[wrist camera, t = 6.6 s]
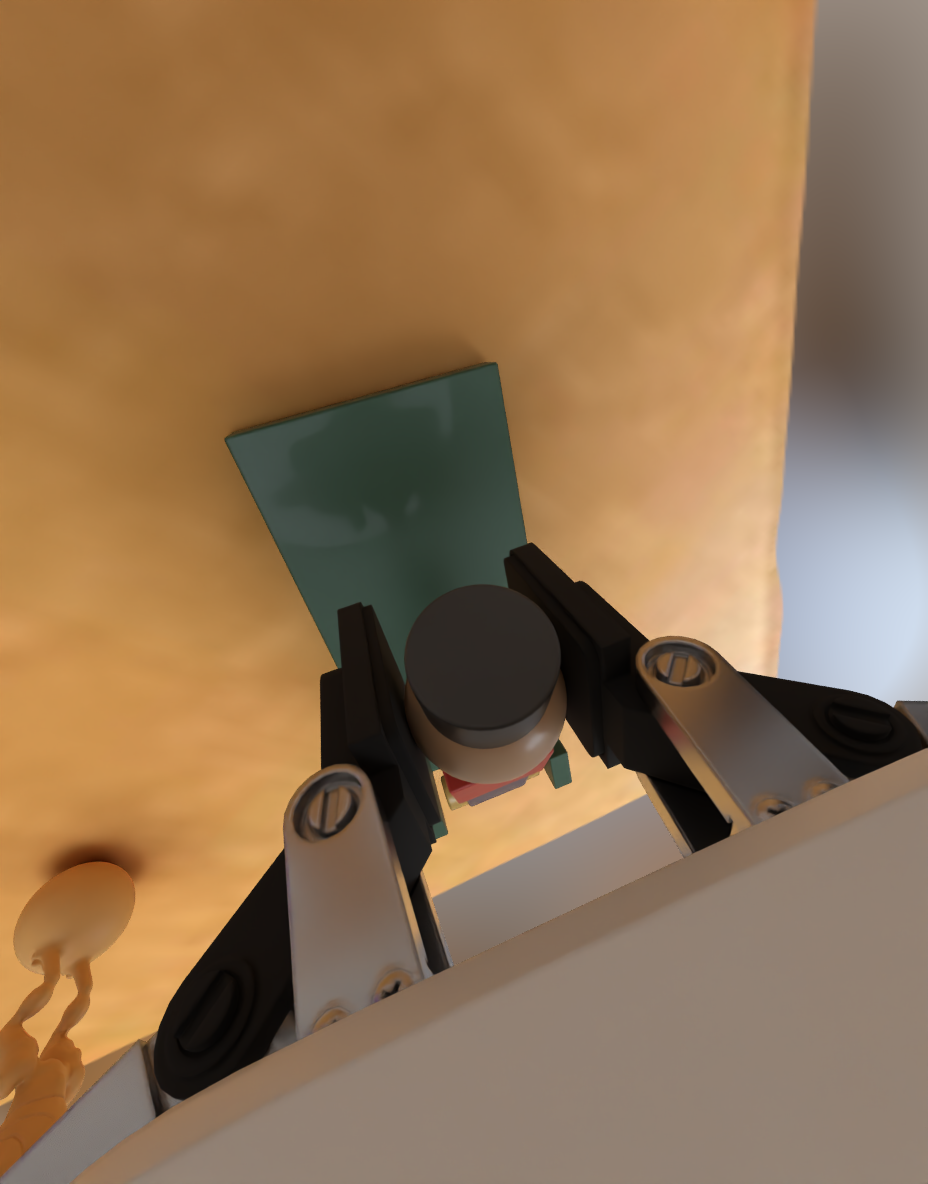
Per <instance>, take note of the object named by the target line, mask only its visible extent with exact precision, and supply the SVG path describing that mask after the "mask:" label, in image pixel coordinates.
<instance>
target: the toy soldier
mask: <svg viewBox="0 0 928 1184" xmlns="http://www.w3.org/2000/svg"><path fill="white" fill-rule="evenodd" d="M404 663H405V671H406V676H407V679H406V684H405V693H404V707H405V715H406V719H407V723H408V726H409V729H410V731H411V734H412V736H413V738H414V740H415V742H416V744H417V746H418V747H419V748H420V750H421V751H422V753H423V754H424V755H425V756H426V757H427V758H428V759H429V760H430V761H431V762H432V763H433V764H434V765H436V766H437V767H438V768H439V769H441V770H442V771H443V774H444V776H442V777H441V782H442V786H443V789H444V793H445V796H446V799H447V802H448V804H449V807H450V809H451V810H455V809H458V808H460V807H463V806H465V805H468V804H469V805H470V806H474V805H477V804H479V803H482V802H484V801H486V800H489V799H491V798H494V797H496V796H499V795H501V794H503V793H506V792H508V791H511V790H513V789H515V788H518V787H520V786H523V785H524V784H525V783H526V781H527V780H528V779H531V778H533V777H535V776H538V775H539V771H541V770H542V769H543V768H544V766H545V765H546V763H547V762H548V760H549V758H550V757H551V755H552V754H553V752H554V749H553V747H554V745H555V744H556V742H557V740H558V738H559V736H560V733H561V731H562V729H563V725H564V721H565V717H566V710H567V693H566V686H565V681H564V677H563V674H562V671H561V669H560V667H561V649H560V643H559V639H558V636H557V633H556V631H555V628H554V626H553V624H552V623H551V621H550V620H549V618H548V617H547V615H546V614H545V613H544V612H543V610H542V609H541V608H540V607H539V606H538V605H537V604H535V603H534V602H533V601H532V600H530V599H529V598H528V597H526V596H524V595H522V594H521V593H519V592H517V591H514V590H512V589H509V588H506V587H502V586H497V585H488V584H478V585H469V586H464V587H460V588H457V589H454V590H452V591H449V592H447V593H445V594H443V595H441V596H440V597H438V598H437V599H435V600H434V601H433V602H431V603H430V604H429V605H428V606H427V607H426V608H425V609H424V610H423V611H422V612H421V614H420V615H419V616H418V618H417V619H416V621H415V622H414V624H413V626H412V628H411V630H410V632H409V635H408V638H407V641H406V646H405V654H404Z"/></svg>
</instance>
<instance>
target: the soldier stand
mask: <svg viewBox="0 0 928 1184" xmlns="http://www.w3.org/2000/svg"><path fill="white" fill-rule="evenodd" d="M225 442H226V444H227V446H228V448H229V450H230V452H231V454H232V457H233V459H234V461H235V463H236V465H237V467H238V469H239V471H240V473H241V475H242V477H243V479H244V481H245V483H246V485H247V487H248V489H249V491H250V493H251V495H252V497H253V499H254V501H255V503H256V505H257V507H258V509H259V511H260V513H261V515H262V517H263V519H264V521H265V523H266V525H267V527H268V529H269V531H270V533H271V535H272V537H273V539H274V541H275V543H276V545H277V547H278V549H279V551H280V553H281V555H282V557H283V559H284V561H285V563H286V565H287V567H288V569H289V571H290V573H291V575H292V577H293V579H294V581H295V583H296V585H297V587H298V589H299V591H300V593H301V595H302V597H303V599H304V601H305V603H306V605H307V607H308V609H309V611H310V613H311V615H312V617H313V619H314V621H315V623H316V625H317V627H318V629H319V631H320V633H321V635H322V637H323V639H324V641H325V643H326V646H327V648H328V650H329V652H330V654H331V656H332V658H333V660H334V662H335V664H336V666H337V668H338V669H339V668H341V654H340V641H339V628H338V615H337V610H338V609H341V608H344V607H346V606H349V605H352V604H355V603H358V602H361V603H362V605H363V607H365V606H368V605H372V606H373V608H374V611H375V613H376V615H377V618H378V620H379V623H380V625H381V627H382V630H383V632H384V635H385V637H386V639H387V642H388V644H389V647H390V649H391V652H392V654H393V656H394V659H395V661H396V664H397V666H398V668H399V671H400V673H401V676H402V678H403V680H404V683H405V684H406V679H407V676H406V671H405V663H404V654H405V646H406V641H407V638H408V635H409V632H410V630H411V628H412V626H413V624H414V622H415V621H416V619H417V618H418V616H419V615H420V614H421V612H422V611H423V610H424V609H425V608H426V607H427V606H428V605H429V604H430V603H431V602H433V601H434V600H435V599H437V598H438V597H440V596H441V595H443V594H445V593H447V592H449V591H452V590H454V589H457V588H460V587H464V586H469V585H478V584H488V585H497V586H502V587H506V588H508V583H507V578H506V573H505V567H504V558H506V557H509V551H510V550H511V549H514V548H517V547H520V546H523V545H526V544H527V539H526V533H525V527H524V521H523V515H522V509H521V503H520V497H519V491H518V485H517V479H516V473H515V467H514V461H513V455H512V448H511V442H510V436H509V430H508V424H507V418H506V412H505V406H504V400H503V394H502V388H501V382H500V376H499V370H498V364H497V363H496V362H484V363H481V364H477V365H473V366H470V367H466V368H463V369H459V370H455V371H452V372H448V373H445V374H441V375H438V376H434V377H430V378H427V379H423V380H420V381H416V382H412V383H409V384H405V385H402V386H398V387H394V388H391V389H387V390H384V391H380V392H376V393H373V394H369V395H366V396H362V397H358V398H355V399H351V400H348V401H344V402H340V403H337V404H333V405H330V406H326V407H322V408H319V409H315V410H312V411H308V412H304V413H301V414H297V415H294V416H290V417H286V418H283V419H279V420H276V421H272V422H268V423H265V424H261V425H258V426H254V427H250V428H247V429H243V430H240V431H236V432H233V433H231V434H230V435H228V436H227V437H226V438H225ZM553 749H554V752H553V754H552V755H551V757H550V758H549V760H548V762H547V763H546V765H545V766H544V769H545V771H546V773H547V775H548V776H549V778H550V780H551V782H552V784H553V786H554V788H555V789H557V788H560V787H562V786H564V785H567V784H569V783H571V782H572V779H571V773H570V767H569V760H568V754H567V751H566V749H565V748H564V746H563V745H562V743H561V741H560V740H559V738H558V740H557V742H556V744H555V745H554V747H553ZM425 759H426V763H427V766H428V770H429V774H430V778H431V782H432V786H433V790H434V793H435V797H436V801H437V805H438V809H439V813H440V817H441V822H439V823H437V824H434V825H433V829H434V834H435V838H436V839H438V838H440V837H442V836H445V835H447V834H448V830H447V826H446V823H445V819H444V815H443V811H442V807H441V803H440V799H439V795H438V791H437V787H436V784H435V780H434V776H433V771H435V770H438V769H439V768H438V767H437V766H436V765H434V764H433V763H432V762H431V761H430V760H429V759H428V758H427V757H426V756H425Z"/></svg>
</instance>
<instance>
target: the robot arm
mask: <svg viewBox="0 0 928 1184" xmlns="http://www.w3.org/2000/svg"><path fill="white" fill-rule="evenodd" d="M504 567H505V573H506V578H507V583H508V588H509V589H512V590H514V591H517V592H519V593H521V594H522V595H524V596H526V597H528V598H529V599H530V600H532V601H533V602H534V603H535V604H537V605H538V606H539V607H540V608H541V609H542V610H543V612H544V613H545V614H546V615H547V617H548V618H549V620H550V621H551V623H552V624H553V626H554V628H555V631H556V633H557V636H558V639H559V643H560V649H561V667H560V669H561V671H562V674H563V677H564V681H565V686H566V693H567V710H566V717H565V718H566V720H567V722H568V723H569V725H570V726H571V728H572V729H573V731H574V732H575V734H576V735H577V737H578V738H579V740H580V741H581V743H582V745H583V746H584V748H585V749H586V751H587V752H588V754H589V755H590V756H591V757H596V756H598V755H599V756H600V758H601V759H602V761H603V762H604V764H605V765H606V767H607V768H608V769H609V768H611V767H613V766H616V765H618V764H620V763H621V764H622V766H623V767H624V768H626V769H629V770H632V771H636V774H637V776H638V779H639V780H640V782H641V784H642V786H643V787H644V789H645V791H646V793H647V794H648V796H649V798H650V800H651V801H652V803H653V805H654V807H655V808H656V810H657V812H658V814H659V815H660V817H661V819H662V821H663V822H664V824H665V826H666V828H667V829H668V831H669V833H670V835H671V836H672V838H673V840H674V842H675V843H676V845H677V847H678V849H679V850H680V852H681V854H682V856H683V857H684V858H683V859H680V860H678V861H676V862H674V863H672V864H670V865H668V866H666V867H664V868H661V869H659V870H657V871H655V872H653V873H651V874H648V875H646V876H644V877H642V878H640V879H638V880H635V881H634V882H631V883H629V884H627V885H625V886H623V887H620V888H618V889H616V890H614V891H612V892H610V893H608V894H606V895H603V896H601V897H599V898H597V899H595V900H593V901H590V902H588V903H586V904H584V905H582V906H580V907H578V908H576V909H573V910H571V911H569V912H567V913H565V914H563V915H561V916H558V917H557V918H554V919H552V920H550V921H548V922H546V923H543V924H541V925H539V926H537V927H535V928H533V929H531V930H529V931H526V932H524V933H522V934H520V935H518V936H516V937H514V938H512V939H509V940H508V941H505V942H503V943H501V944H499V945H497V946H495V947H493V948H491V949H488V950H486V951H484V952H482V953H480V954H478V955H476V956H473V957H471V958H469V959H467V960H465V961H463V962H461V963H459V964H457V965H453V962H452V959H451V956H450V953H449V950H448V946H447V943H446V940H445V937H444V934H443V931H442V928H441V925H440V922H439V919H438V916H437V913H436V910H435V907H434V904H433V901H432V898H431V894H430V891H429V888H428V885H427V882H426V879H425V876H424V873H423V871H422V869H423V867H424V865H425V863H426V861H427V859H428V857H429V856H430V854H431V852H432V848H431V844H433V843H436V838H435V834H434V829H433V825H434V824H437V823H439V822H441V817H440V813H439V809H438V805H437V801H436V797H435V793H434V790H433V786H432V782H431V778H430V774H429V770H428V766H427V763H426V759H425V755H424V754H423V753H422V751H421V750H420V748H419V747H418V746H417V744H416V742H415V740H414V738H413V736H412V734H411V731H410V729H409V726H408V723H407V719H406V715H405V707H404V693H405V683H404V680H403V678H402V676H401V673H400V671H399V668H398V666H397V664H396V661H395V659H394V656H393V654H392V652H391V649H390V647H389V644H388V642H387V639H386V637H385V635H384V632H383V630H382V627H381V625H380V623H379V620H378V618H377V615H376V613H375V611H374V608H373V606H372V605H368V606H365V607H363V605H362V603H361V602H358V603H355V604H352V605H349V606H346V607H344V608H341V609H338V610H337V615H338V628H339V641H340V654H341V668H339V669H336V670H333V671H330V672H328V673H325V674H322V676H321V679H320V709H321V770H320V771H318V772H316V773H315V774H313V775H312V776H310V777H309V778H308V779H307V780H306V781H305V782H304V783H303V784H302V785H301V786H300V787H299V788H298V789H297V790H296V792H295V793H294V795H293V796H292V798H291V799H290V801H289V804H288V806H287V809H286V811H285V814H284V823H283V834H284V849H283V850H282V852H281V853H280V854H279V856H278V857H277V858H276V860H275V861H274V862H273V864H272V865H271V866H270V868H269V869H268V870H267V872H266V873H265V874H264V875H263V877H262V878H261V879H260V881H259V882H258V883H257V885H256V886H255V887H254V889H253V890H252V891H251V893H250V894H249V895H248V897H247V898H246V899H245V901H244V902H243V903H242V904H241V906H240V907H239V908H238V910H237V911H236V912H235V914H234V915H233V916H232V918H231V919H230V920H229V922H228V923H227V924H226V926H225V927H224V928H223V930H222V931H221V932H220V933H219V935H218V936H217V937H216V939H215V940H214V941H213V943H212V944H211V945H210V947H209V948H208V949H207V951H206V952H205V953H204V955H203V956H202V957H201V959H200V960H199V961H198V962H197V964H196V965H195V966H194V968H193V969H192V970H191V972H190V973H189V974H188V976H187V977H186V978H185V980H184V981H183V982H182V984H181V986H180V987H179V989H178V990H177V992H176V993H175V995H174V996H173V998H172V1000H171V1001H170V1003H169V1005H168V1007H167V1010H166V1012H165V1014H164V1016H163V1019H162V1021H161V1023H160V1026H159V1029H158V1031H157V1032H156V1034H155V1035H154V1036H153V1037H152V1038H151V1039H150V1040H149V1041H148V1042H145V1041H142V1040H140V1039H139V1040H138V1041H137V1042H136V1043H135V1044H134V1045H133V1046H132V1047H131V1048H130V1049H129V1050H128V1051H127V1052H126V1053H125V1054H124V1055H123V1056H122V1057H121V1058H120V1059H119V1060H118V1061H117V1062H116V1063H115V1064H114V1065H113V1066H112V1067H111V1068H110V1069H109V1070H108V1071H107V1072H106V1073H105V1074H104V1075H103V1076H102V1077H101V1078H100V1079H99V1080H98V1081H97V1082H96V1083H95V1084H94V1085H93V1086H92V1087H91V1088H90V1089H89V1090H88V1091H87V1092H86V1093H85V1094H83V1095H82V1097H80V1098H79V1099H78V1101H76V1103H74V1105H73V1106H71V1107H70V1109H69V1110H67V1111H66V1112H65V1113H64V1114H63V1115H62V1116H61V1117H60V1118H59V1119H58V1120H57V1121H56V1122H55V1123H54V1124H53V1125H52V1126H51V1127H50V1128H49V1129H48V1130H47V1131H46V1132H45V1133H44V1134H43V1135H42V1136H41V1137H40V1138H39V1139H38V1140H37V1141H36V1142H35V1143H34V1144H33V1145H32V1146H31V1147H30V1148H29V1149H28V1150H27V1151H26V1152H25V1153H24V1154H23V1155H22V1156H21V1157H20V1158H19V1159H18V1160H17V1161H16V1162H15V1163H14V1164H13V1165H12V1166H11V1167H10V1168H9V1169H8V1170H7V1171H6V1172H5V1173H4V1174H3V1175H2V1176H1V1177H0V1184H928V701H897V702H896V704H895V706H894V707H891V706H890V705H888V704H887V703H885V702H883V701H880V700H878V699H875V698H873V697H871V696H869V695H865V694H861V693H857V692H853V691H849V690H843V689H837V688H832V687H826V686H819V685H814V684H808V683H802V682H797V681H791V680H785V679H779V678H774V677H768V676H762V675H756V674H750V673H745V672H739V671H736V670H735V669H734V668H733V667H732V666H731V665H730V664H729V663H728V662H727V661H726V660H725V659H724V658H723V657H722V656H721V655H720V654H719V653H718V652H717V651H715V650H714V649H713V648H711V647H710V646H709V645H707V644H705V643H703V642H700V641H698V640H696V639H691V638H687V637H682V636H666V637H660V638H656V639H654V640H651V641H649V640H648V639H647V638H646V637H645V636H644V635H642V634H641V633H640V632H639V631H638V630H637V629H636V628H635V627H634V626H633V625H632V624H630V623H629V622H628V621H627V620H626V619H625V618H624V617H623V616H622V615H621V614H620V613H618V612H617V611H616V610H615V609H614V608H613V607H612V606H611V605H610V604H609V603H607V602H606V601H605V600H604V599H603V598H602V597H601V596H600V595H599V594H598V593H597V592H595V591H594V590H593V589H592V588H591V587H590V586H589V585H588V584H586V583H585V582H583V581H578V582H575V583H574V582H573V581H572V580H571V579H570V578H569V577H568V576H567V575H566V574H565V573H564V572H563V571H562V570H561V569H560V568H559V567H558V566H557V565H556V564H555V563H554V562H552V561H551V560H550V559H549V558H548V557H547V556H546V555H545V554H544V553H543V552H542V551H541V550H540V549H539V548H538V547H537V546H536V545H535V544H533V543H529V544H526V545H523V546H520V547H517V548H514V549H511V550H510V551H509V557H506V558H504Z"/></svg>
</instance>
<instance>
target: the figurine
mask: <svg viewBox="0 0 928 1184" xmlns="http://www.w3.org/2000/svg"><path fill="white" fill-rule="evenodd" d="M134 904H135V888H134V884H133V881H132V879H131V877H130V876H129V874H128V873H127V872H126V871H125V870H124V869H122V868H121V867H119V866H117V865H115V864H112V863H107V862H89V863H84V864H80V865H77V866H74V867H72V868H70V869H67V870H65V871H63V872H62V873H60V874H58V875H56V876H55V877H53V878H52V879H51V880H49V881H48V882H47V883H46V884H44V885H43V886H42V887H41V888H40V889H39V890H38V891H37V892H36V893H35V894H34V895H33V896H32V898H31V899H30V900H29V901H28V903H27V904H26V906H25V907H24V909H23V911H22V912H21V914H20V916H19V919H18V921H17V924H16V927H15V931H14V939H13V943H14V950H15V954H16V956H17V958H18V960H19V961H20V963H21V964H22V965H23V966H24V967H25V968H27V969H28V970H30V971H32V972H34V973H37V974H42V975H45V976H44V983H43V984H42V985H41V986H39V987H38V988H36V989H35V990H33V991H32V992H31V993H30V994H29V995H28V996H27V997H26V998H25V1000H24V1001H23V1002H22V1004H21V1006H20V1007H19V1009H18V1011H17V1012H16V1014H15V1015H14V1016H13V1017H12V1018H11V1020H10V1021H9V1022H8V1023H7V1024H6V1025H5V1026H4V1028H3V1029H2V1030H1V1031H0V1100H2V1099H4V1098H6V1097H7V1096H8V1095H9V1094H10V1093H11V1092H12V1091H13V1089H14V1088H15V1096H14V1099H13V1102H12V1105H11V1107H10V1109H9V1112H8V1114H7V1117H6V1119H5V1121H4V1123H3V1124H2V1125H1V1126H0V1177H1V1176H2V1175H3V1174H4V1173H5V1172H6V1171H7V1170H8V1169H9V1168H10V1167H11V1166H12V1165H13V1164H14V1163H15V1162H16V1161H17V1160H18V1159H19V1158H20V1157H21V1156H22V1155H23V1154H24V1153H25V1152H26V1151H27V1150H28V1149H29V1148H30V1147H31V1146H32V1145H33V1144H34V1143H35V1142H36V1141H37V1140H38V1139H39V1138H40V1137H41V1136H42V1135H43V1134H44V1133H45V1132H46V1131H47V1130H48V1129H49V1128H50V1127H51V1126H52V1125H53V1124H54V1123H55V1122H56V1121H57V1120H58V1119H59V1118H60V1117H61V1116H62V1115H63V1114H64V1113H65V1112H66V1111H67V1110H68V1109H67V1105H68V1104H69V1103H70V1102H71V1101H72V1100H73V1099H74V1097H75V1096H76V1095H77V1093H78V1091H79V1089H80V1087H81V1085H82V1083H83V1080H84V1076H85V1069H84V1066H83V1064H82V1061H81V1050H80V1049H79V1048H76V1047H75V1046H74V1043H73V1041H72V1040H70V1039H69V1038H68V1037H67V1033H68V1032H69V1030H70V1029H71V1028H72V1027H73V1026H75V1025H76V1024H77V1023H78V1022H79V1021H80V1020H81V1019H82V1018H83V1016H84V1015H85V1013H86V1012H87V1010H88V1008H89V1005H90V997H89V995H90V992H91V989H92V986H93V981H92V976H91V971H90V963H91V962H92V961H94V960H95V959H97V958H98V957H99V956H101V955H102V954H103V953H104V952H105V951H107V950H108V949H109V948H110V947H111V946H112V945H113V944H114V943H115V941H116V940H117V939H118V938H119V936H120V935H121V934H122V932H123V931H124V929H125V928H126V926H127V924H128V922H129V920H130V918H131V915H132V912H133V909H134ZM60 974H62V976H64V975H66V977H67V978H68V979H72V978H74V980H75V983H76V986H77V989H78V995H77V997H76V998H75V999H74V1001H73V1002H72V1003H71V1004H70V1005H69V1006H68V1007H67V1008H66V1010H65V1012H64V1014H63V1016H62V1019H61V1021H60V1023H59V1025H58V1026H57V1028H56V1029H55V1031H54V1033H53V1034H52V1036H51V1038H50V1040H49V1042H48V1043H47V1045H46V1047H45V1048H44V1050H43V1051H42V1053H41V1055H40V1057H39V1058H38V1056H37V1055H38V1051H39V1047H38V1044H37V1041H36V1039H35V1038H33V1037H32V1036H30V1035H29V1034H28V1033H27V1032H26V1031H25V1030H24V1028H23V1027H22V1023H23V1022H24V1021H25V1020H27V1019H29V1018H30V1017H32V1016H33V1015H35V1014H36V1013H37V1012H39V1011H40V1010H41V1009H42V1008H43V1007H44V1006H45V1005H46V1004H47V1003H48V1001H49V1000H50V998H51V996H52V994H53V990H54V987H55V985H56V984H57V982H58V980H59V978H60Z"/></svg>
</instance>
